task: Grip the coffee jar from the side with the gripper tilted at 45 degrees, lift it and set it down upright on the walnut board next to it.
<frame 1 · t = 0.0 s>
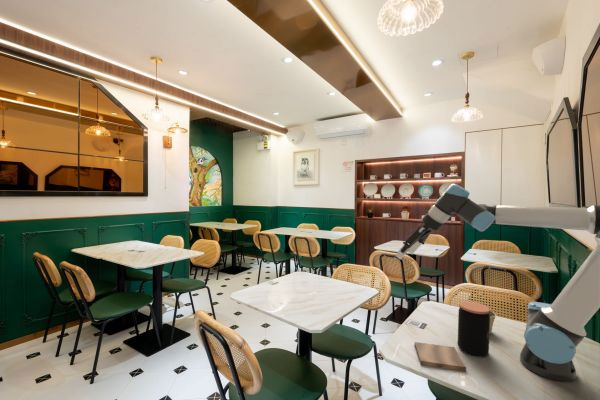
hand: (404, 254, 121), 36 cm above the table, tool tilted 35°, fingers open, 13 cm apart
flower pot: (483, 331, 126), on the table
walnut board: (438, 357, 105), on the table
coffee jar: (472, 350, 110), on the table
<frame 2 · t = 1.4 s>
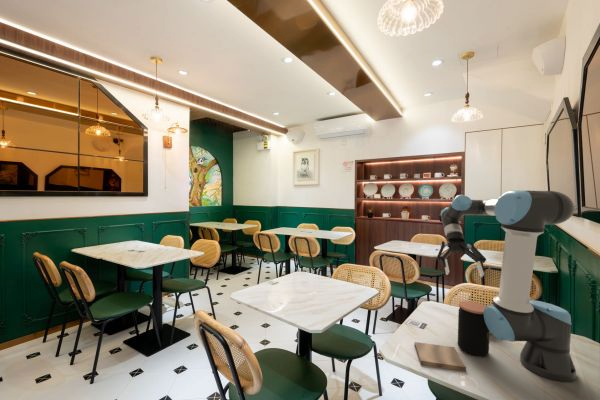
hand: (464, 274, 120), 28 cm above the table, tool tilted 45°, fingers open, 13 cm apart
nothing on the table moved.
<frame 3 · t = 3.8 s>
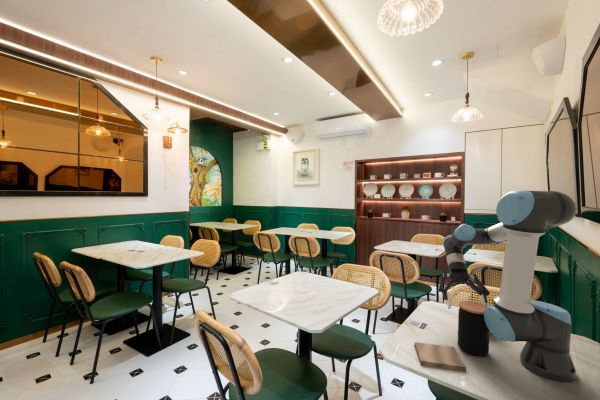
hand: (467, 309, 116), 14 cm above the table, tool tilted 45°, fingers open, 13 cm apart
nothing on the table moved.
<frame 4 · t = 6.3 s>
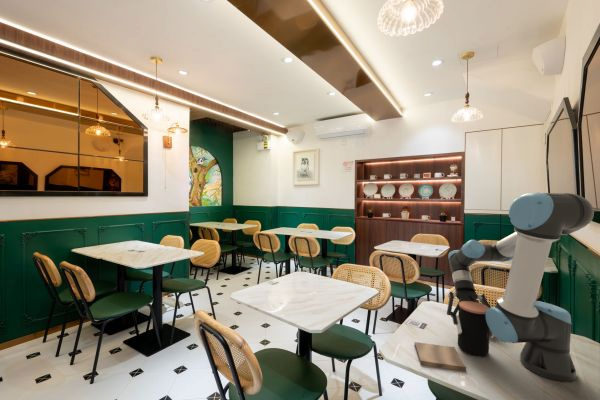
hand: (476, 335, 107), 8 cm above the table, tool tilted 45°, fingers closed on coffee jar, 11 cm apart
coffee jar: (472, 350, 111), on the table, touching gripper
everything else where it was.
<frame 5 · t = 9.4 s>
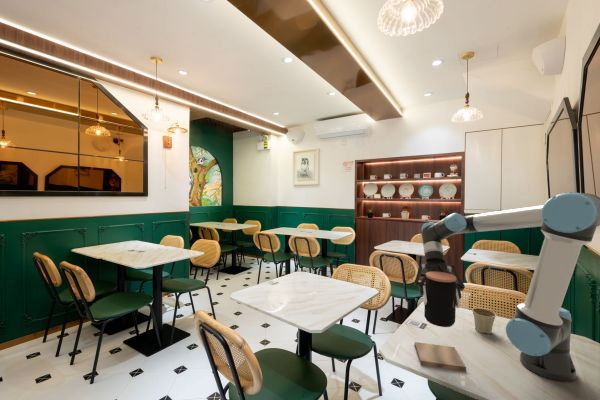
hand: (441, 304, 103), 21 cm above the table, tool tilted 45°, fingers closed on coffee jar, 11 cm apart
coffee jar: (439, 321, 106), point 13 cm above the table, touching gripper
everything else where it was.
when the fingers open (11 cm above the table, at t = 12.6 s): coffee jar drops 1 cm, resting on walnut board.
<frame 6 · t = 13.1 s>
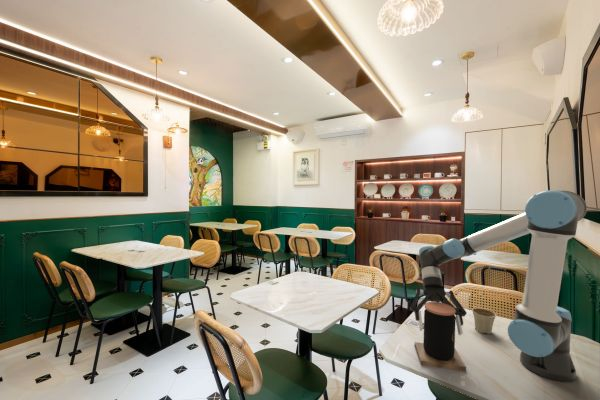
hand: (440, 331, 103), 11 cm above the table, tool tilted 45°, fingers open, 13 cm apart
coffee jar: (438, 353, 105), point 1 cm above the table, touching walnut board
everything else where it was.
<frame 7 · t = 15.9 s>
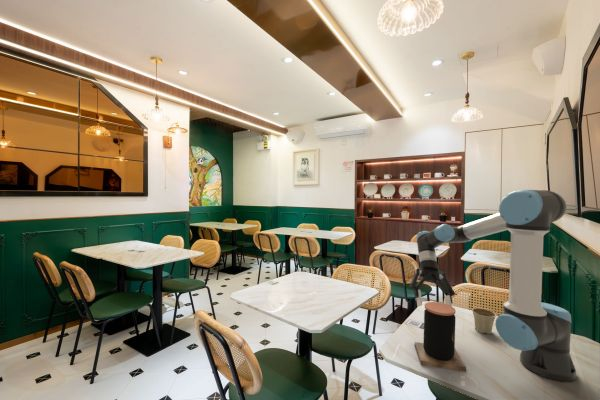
hand: (434, 308, 118), 14 cm above the table, tool tilted 40°, fingers open, 13 cm apart
nothing on the table moved.
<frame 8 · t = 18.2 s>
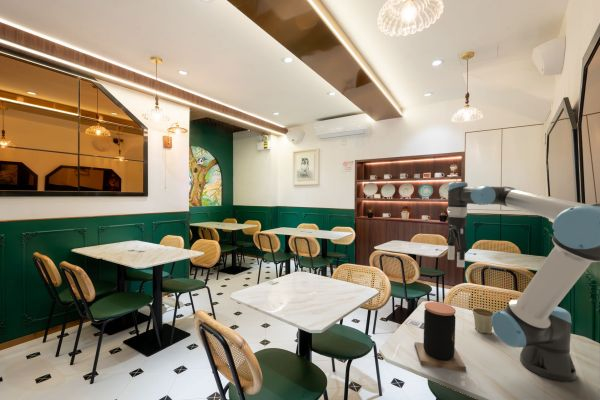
hand: (455, 263, 124), 32 cm above the table, tool pointing down, fingers open, 13 cm apart
nothing on the table moved.
at the end: coffee jar inside the target area on the walnut board (0.1 cm from its centre), point 1.3 cm above the walnut board's base; coffee jar tilted 0°; the gripper is holding nothing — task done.
